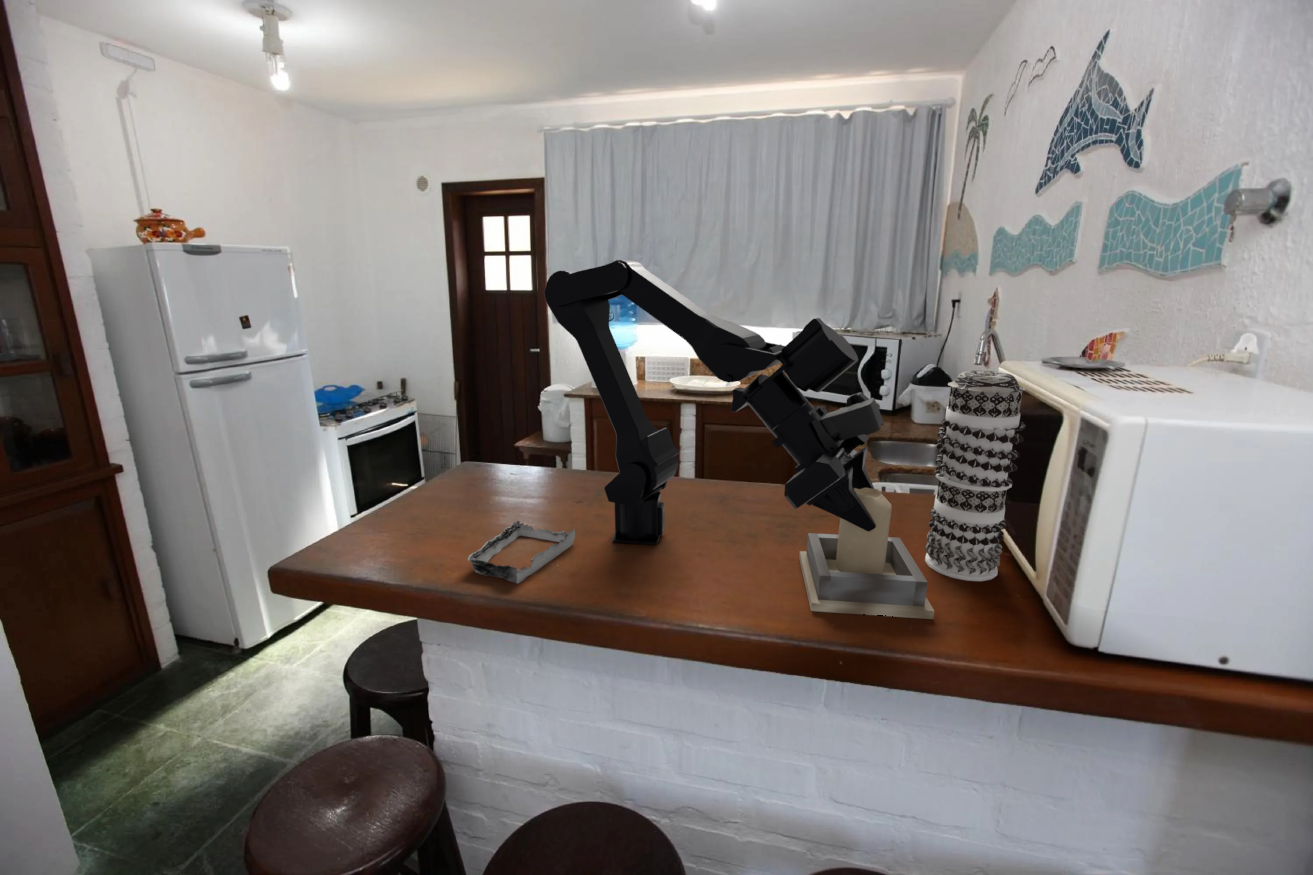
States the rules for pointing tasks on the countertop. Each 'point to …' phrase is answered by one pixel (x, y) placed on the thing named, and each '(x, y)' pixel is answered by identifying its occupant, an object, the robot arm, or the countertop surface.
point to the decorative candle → (974, 475)
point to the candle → (865, 537)
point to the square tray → (864, 582)
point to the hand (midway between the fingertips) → (876, 520)
